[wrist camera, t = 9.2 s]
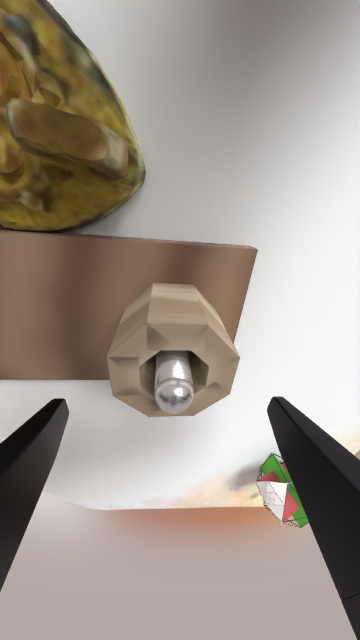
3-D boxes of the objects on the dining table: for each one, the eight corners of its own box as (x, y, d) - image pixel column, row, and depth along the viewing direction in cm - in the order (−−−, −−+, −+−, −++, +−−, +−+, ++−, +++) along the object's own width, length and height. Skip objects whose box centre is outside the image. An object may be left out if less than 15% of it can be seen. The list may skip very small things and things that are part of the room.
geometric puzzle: (330, 466, 25) (335, 540, 19) (303, 490, 28) (301, 560, 22) (273, 431, 28) (262, 485, 22) (255, 456, 31) (241, 509, 25)
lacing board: (250, 246, 13) (257, 249, 12) (220, 369, 18) (224, 379, 17) (-134, 219, 11) (-166, 220, 10) (-39, 368, 16) (-53, 379, 15)
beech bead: (220, 285, 13) (249, 325, 8) (207, 358, 16) (223, 415, 12) (123, 281, 12) (101, 322, 8) (129, 358, 15) (115, 417, 11)
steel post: (184, 314, 14) (199, 394, 8) (182, 335, 15) (194, 421, 9) (158, 313, 13) (153, 394, 8) (157, 335, 14) (153, 422, 8)
